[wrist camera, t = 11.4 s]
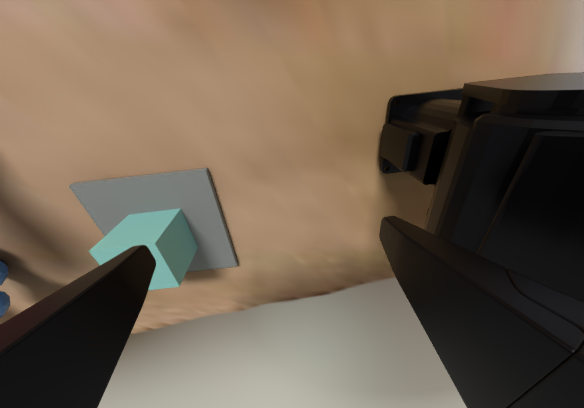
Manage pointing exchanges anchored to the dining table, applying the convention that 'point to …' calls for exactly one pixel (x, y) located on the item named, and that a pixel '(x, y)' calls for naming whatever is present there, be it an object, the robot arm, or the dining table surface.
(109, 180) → the gray mat
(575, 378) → the robot arm
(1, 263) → the grapes
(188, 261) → the teal block
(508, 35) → the dining table surface
